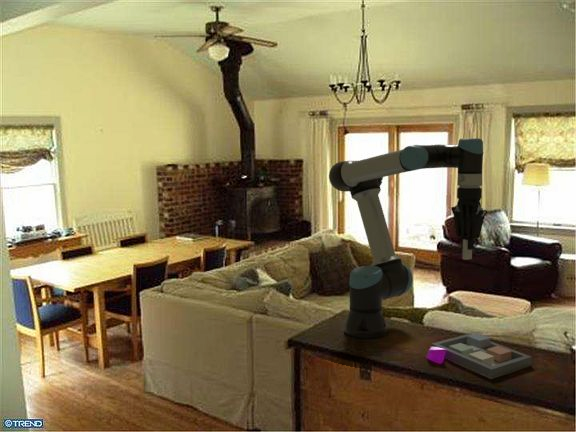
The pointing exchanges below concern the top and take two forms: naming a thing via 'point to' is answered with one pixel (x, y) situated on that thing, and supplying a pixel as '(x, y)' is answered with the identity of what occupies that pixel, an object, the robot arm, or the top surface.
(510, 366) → the grey tray
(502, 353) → the key terracotta
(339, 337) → the top surface
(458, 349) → the key sage
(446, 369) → the top surface
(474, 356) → the key cream
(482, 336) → the key slate
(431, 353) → the crystal
